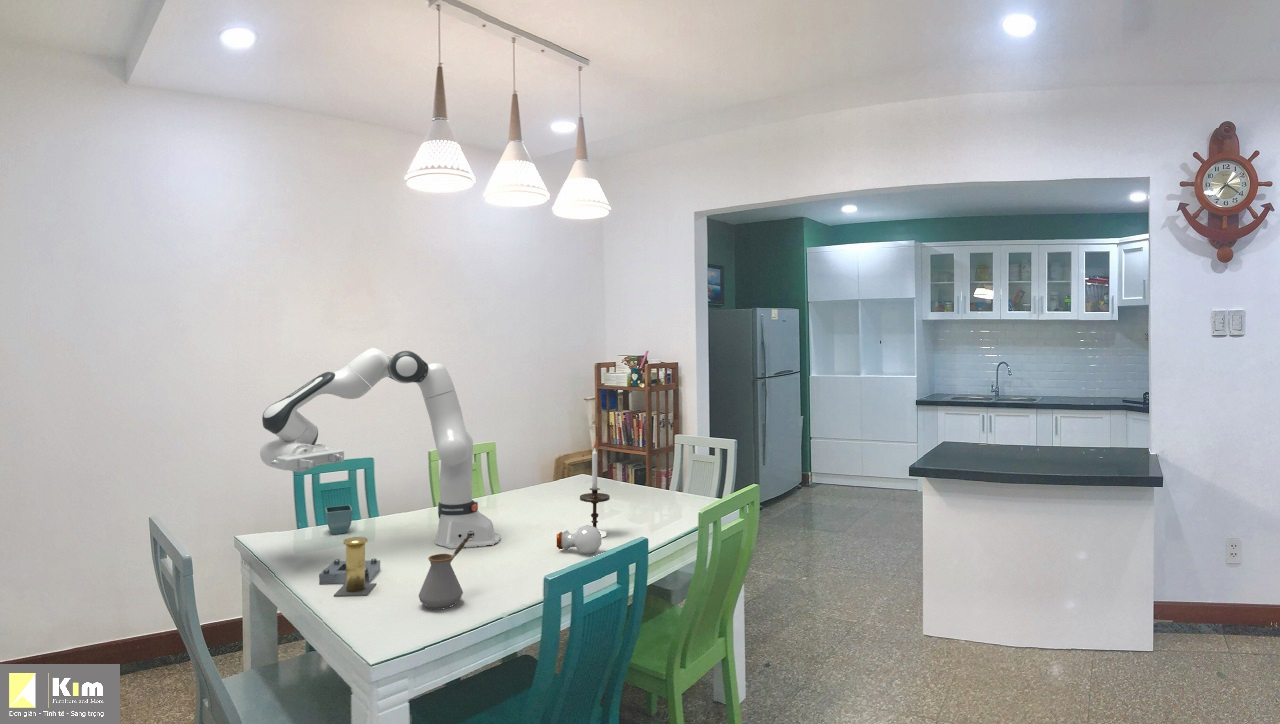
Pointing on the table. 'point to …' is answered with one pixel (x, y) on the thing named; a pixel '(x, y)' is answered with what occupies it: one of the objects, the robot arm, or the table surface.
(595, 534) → the potion bottle
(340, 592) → the pad
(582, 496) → the candlestick
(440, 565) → the coffee pot
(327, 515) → the flower pot
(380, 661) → the table surface
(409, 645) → the table surface
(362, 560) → the brass flanged cylinder
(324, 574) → the housing
